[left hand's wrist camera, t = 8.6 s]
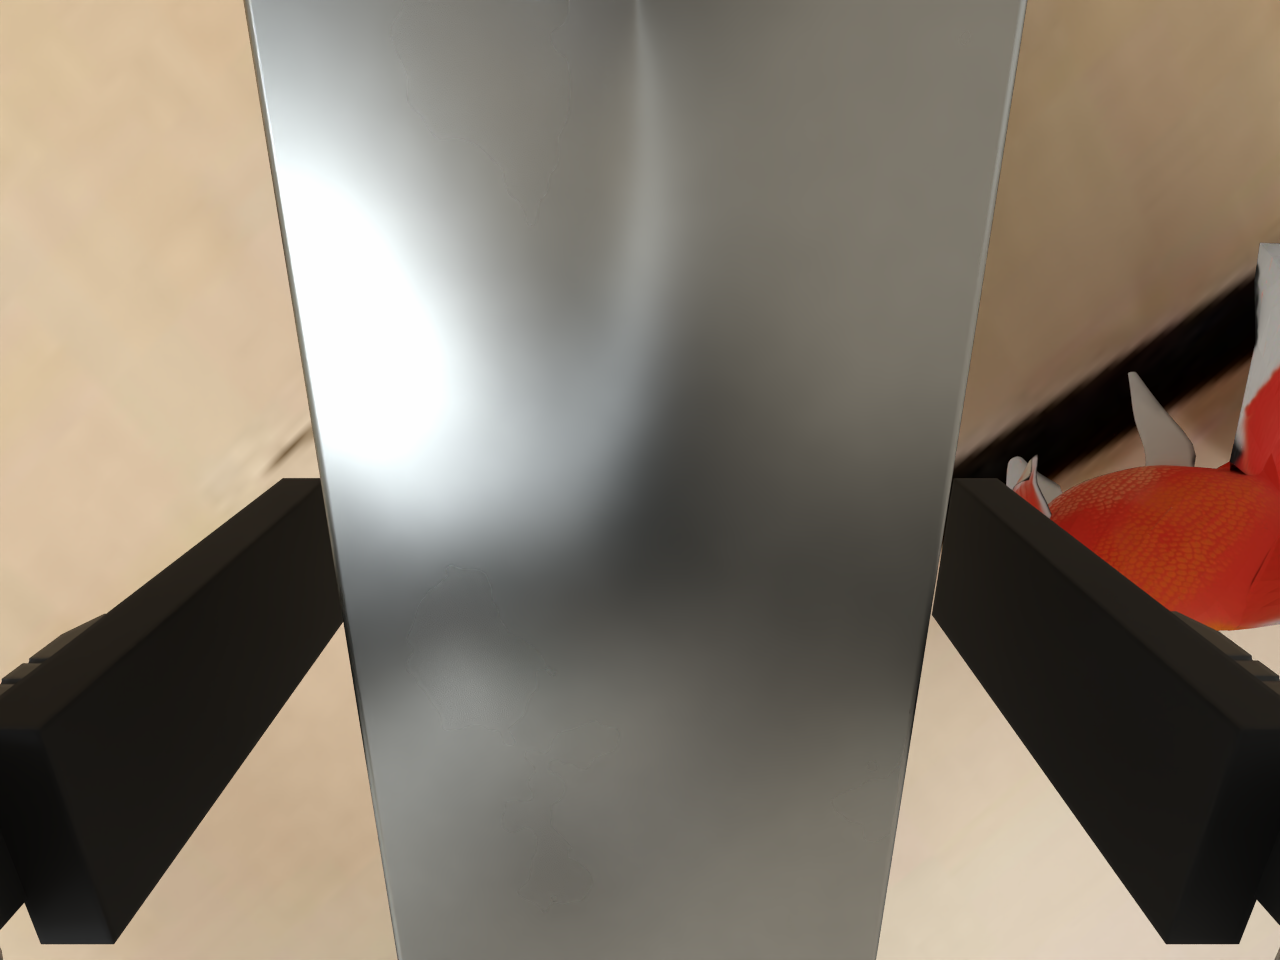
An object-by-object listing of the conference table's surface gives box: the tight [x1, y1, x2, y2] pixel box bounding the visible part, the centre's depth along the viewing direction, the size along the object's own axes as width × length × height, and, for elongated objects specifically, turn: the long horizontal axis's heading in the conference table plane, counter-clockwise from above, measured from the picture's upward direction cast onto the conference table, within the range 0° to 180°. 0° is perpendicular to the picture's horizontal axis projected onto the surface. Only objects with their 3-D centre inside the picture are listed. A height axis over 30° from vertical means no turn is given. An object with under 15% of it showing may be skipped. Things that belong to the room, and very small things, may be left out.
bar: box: [244, 0, 1027, 960], centre depth 9 cm, size 22×5×9 cm, turn 0°
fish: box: [1006, 243, 1280, 631], centre depth 20 cm, size 11×16×10 cm
